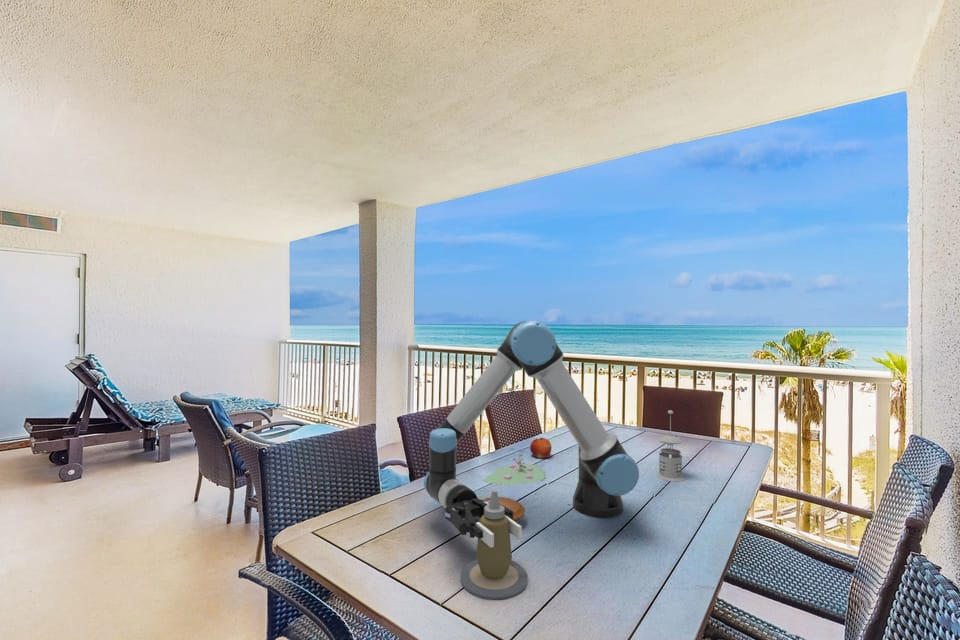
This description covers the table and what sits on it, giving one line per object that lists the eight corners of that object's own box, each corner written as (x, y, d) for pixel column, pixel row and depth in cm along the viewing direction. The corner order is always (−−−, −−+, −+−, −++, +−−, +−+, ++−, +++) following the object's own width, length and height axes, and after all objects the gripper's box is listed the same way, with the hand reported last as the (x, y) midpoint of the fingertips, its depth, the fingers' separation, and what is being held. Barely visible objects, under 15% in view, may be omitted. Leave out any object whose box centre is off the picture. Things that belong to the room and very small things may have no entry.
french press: (656, 479, 163) (656, 411, 163) (656, 469, 173) (656, 406, 174) (685, 483, 159) (685, 413, 159) (684, 473, 170) (684, 408, 170)
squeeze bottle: (509, 584, 94) (509, 500, 94) (472, 580, 96) (473, 497, 96) (514, 564, 102) (514, 486, 102) (479, 560, 104) (480, 483, 104)
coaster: (534, 567, 103) (534, 564, 103) (517, 606, 89) (517, 601, 89) (474, 555, 108) (474, 552, 108) (449, 590, 94) (449, 586, 94)
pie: (480, 536, 118) (480, 518, 118) (466, 512, 133) (466, 496, 133) (533, 530, 122) (533, 511, 123) (514, 507, 137) (514, 491, 137)
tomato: (553, 460, 185) (553, 441, 185) (531, 459, 185) (531, 440, 185) (549, 453, 194) (549, 435, 194) (529, 453, 194) (529, 435, 194)
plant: (514, 493, 150) (514, 467, 150) (471, 478, 164) (471, 454, 164) (556, 475, 167) (556, 452, 167) (515, 463, 182) (515, 441, 182)
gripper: (490, 506, 119) (542, 543, 99) (423, 521, 110) (466, 566, 90) (490, 478, 119) (542, 510, 99) (423, 491, 110) (466, 529, 90)
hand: (506, 536), depth 95 cm, fingers closed on squeeze bottle, 6 cm apart
